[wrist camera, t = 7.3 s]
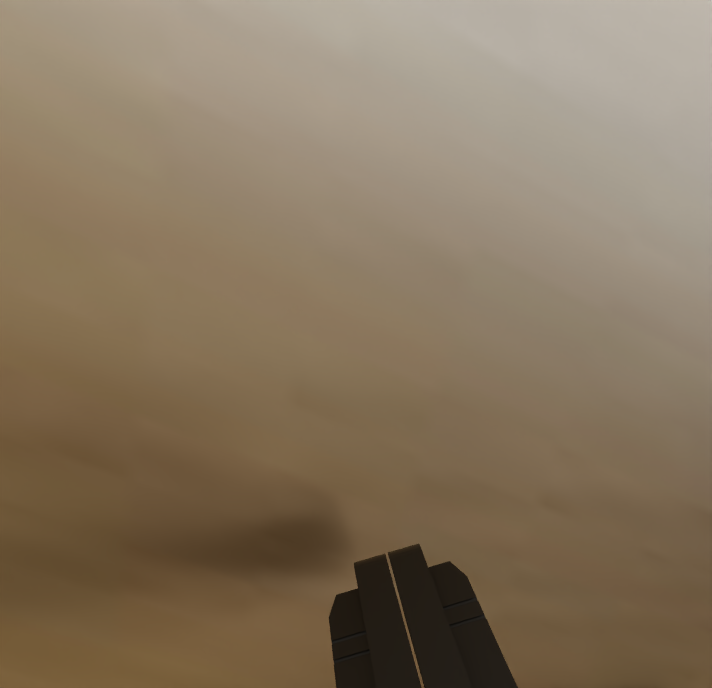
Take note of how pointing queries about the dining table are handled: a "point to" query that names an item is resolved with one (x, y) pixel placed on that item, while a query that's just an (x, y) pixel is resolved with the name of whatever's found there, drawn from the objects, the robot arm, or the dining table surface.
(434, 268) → the dining table surface
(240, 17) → the dining table surface
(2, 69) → the dining table surface
